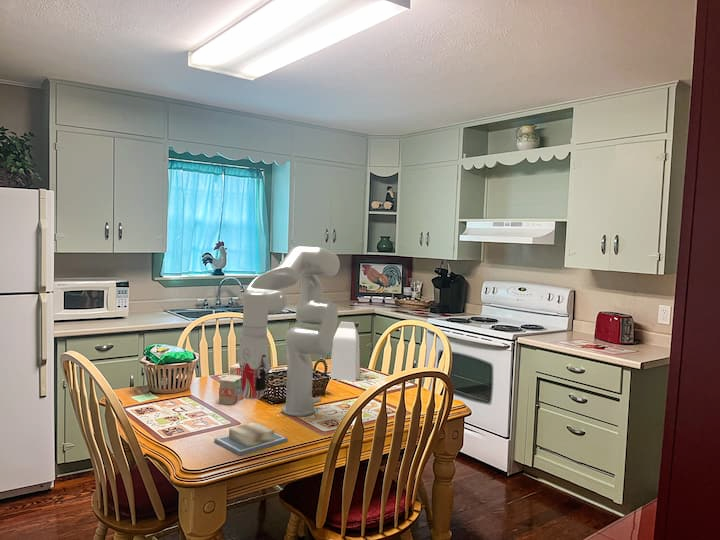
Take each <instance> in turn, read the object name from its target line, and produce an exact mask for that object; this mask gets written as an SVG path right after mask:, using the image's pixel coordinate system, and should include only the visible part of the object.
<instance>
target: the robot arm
mask: <svg viewBox="0 0 720 540" xmlns="http://www.w3.org/2000/svg"><path fill="white" fill-rule="evenodd" d="M340 263H341V262H340V259H339V257H338V255H337V254H336V253H334V252H332V251H330V250H328V249H326V248H323V247H319V246H305V245H304V246H303V245H298V246H294V247H292V248H291V249H290V250H289V251H288V253H286V255H285V257H284V258H283V259H282V260H281V262H280V263H279V265H278V266H277V267H275V268H272V269H270V270H267V271H266V272H264V273H261V274H260V275H258V276H257V277H255V278H253V280H252V281H251V282H249V284H248V286H247V287H246V288H245V290H244V291H243V294H242V296H241V302H242V306H243V308H242V310H243V311H242V312H243V314H242V334H241V337H240V340H239V346H238V347H239V348H238V357H237V363H239V365H240V368H241V370H240V371H241V372H242V366H243V364H244V363H248V364H249V366H250V368H251V369H253V370H256V373H257V377H258V378H256V391H260V390H264V391H265V389H266V378H267V377H268V374H269V372H270V370H271V369H272V366H271V364H270V363H269V341H268V337H267V336H268V317H269V316H268V314H278V313H281V312H283V310H284V309H286V307H287V297H286V296H287V295H286V294H285V293H284V292H282V291H281V290H283V289H287V288H291V287H293V286H295V285H296V284H297V283H298V281H299V280H300V291H299V292H300V293H299V296H298V297H299V298H298V300H297V305H296V308H295V309H296V310H295V319H296V321H297V323H300V324H302V325H308V326H318V327H320V328H316V327H315V328H314V327H307V326H294V327H291V328H289V329H288V330H287V332H286V334H285V347H286V356H287V357H286V359H287V362H286V363H287V364H286V365H287V367H286V386H285V387H286V392H285V404H284V405H282V407H281V412H282V413H283V414H285V415H287V416H292V417H305V416H306V417H307V416H310V415H313V414H314V413H315V412H316V407H315V404H317V403H321V402H322V398H321V397H319V396H317V397H314V396H313V377H314V376H313V373H314V372H313V371H314V363H313V361H312V358H311V357H310V355H315V356H327V355H328V354H329V353H330V352H331V351H332V346H333V339H334V336H335V333H336V330H337V323H338V318H339V309H338V306H337V304H335V303H334V302H333V301H329V300H323V299H322V298H323V294H324V286H323V284H322V282H321V280H320V279H319V277H318V276H326V277H333V276H336V275H337V273H338V272H339V270H340V267H341V264H340ZM246 361H248V362H246ZM260 365H262V366H263V367H260ZM259 367H260V368H259ZM260 370H262V372H261V373H260ZM241 385H242V374H241Z"/></svg>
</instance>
